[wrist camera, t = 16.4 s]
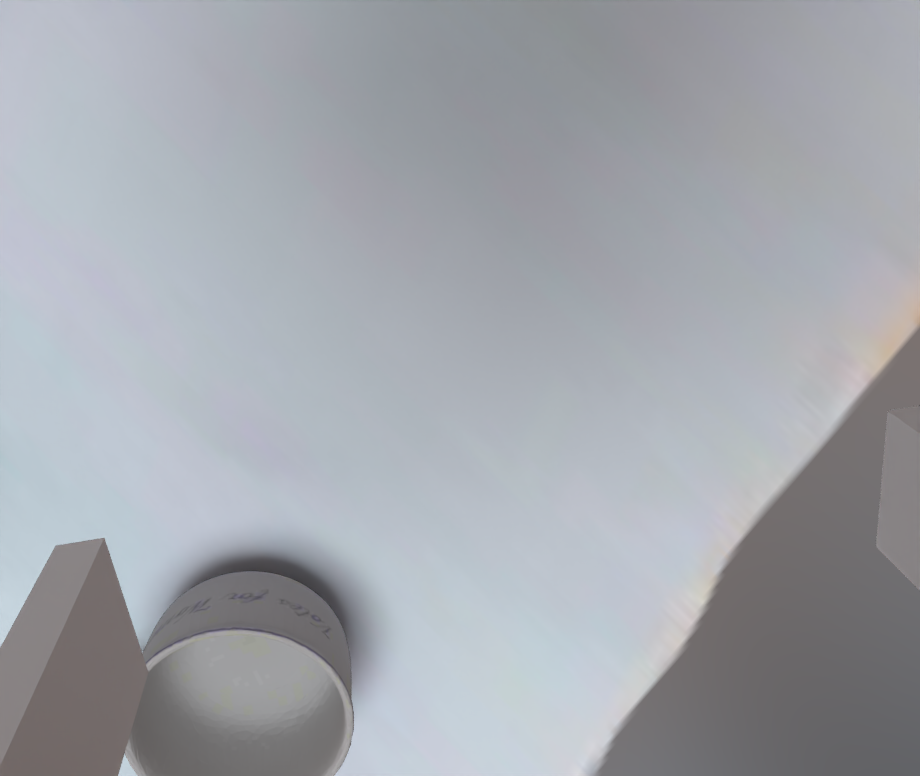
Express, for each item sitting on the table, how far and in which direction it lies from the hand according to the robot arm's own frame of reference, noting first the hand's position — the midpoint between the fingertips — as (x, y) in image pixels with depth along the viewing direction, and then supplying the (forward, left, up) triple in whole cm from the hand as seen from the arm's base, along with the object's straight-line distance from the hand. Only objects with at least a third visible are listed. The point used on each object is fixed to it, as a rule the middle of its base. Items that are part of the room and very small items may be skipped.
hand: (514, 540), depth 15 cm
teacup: (+23, -3, -30) cm, 38 cm away
